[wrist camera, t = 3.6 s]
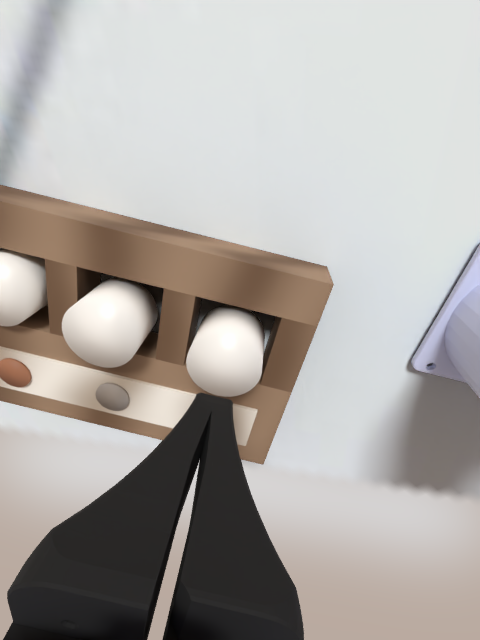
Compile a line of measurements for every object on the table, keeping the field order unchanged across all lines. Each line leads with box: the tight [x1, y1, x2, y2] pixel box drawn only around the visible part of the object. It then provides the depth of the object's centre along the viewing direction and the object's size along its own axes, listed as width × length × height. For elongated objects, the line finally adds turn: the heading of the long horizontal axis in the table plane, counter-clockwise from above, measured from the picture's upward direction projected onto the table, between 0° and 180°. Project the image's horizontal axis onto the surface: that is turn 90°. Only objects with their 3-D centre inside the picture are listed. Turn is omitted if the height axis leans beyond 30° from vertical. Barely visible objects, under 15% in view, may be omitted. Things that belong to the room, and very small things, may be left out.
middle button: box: [62, 277, 158, 368], centre depth 17 cm, size 4×4×3 cm
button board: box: [0, 185, 334, 464], centre depth 19 cm, size 20×13×3 cm, turn 77°
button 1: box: [0, 248, 48, 326], centre depth 18 cm, size 4×4×3 cm
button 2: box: [186, 305, 265, 397], centre depth 17 cm, size 4×4×3 cm
